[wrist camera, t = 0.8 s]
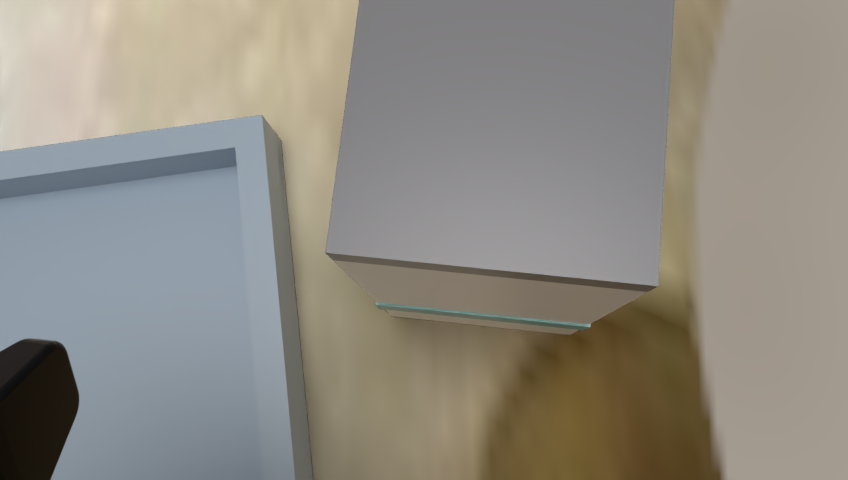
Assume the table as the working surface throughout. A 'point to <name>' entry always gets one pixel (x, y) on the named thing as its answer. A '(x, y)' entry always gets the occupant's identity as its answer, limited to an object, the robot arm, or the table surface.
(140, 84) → the table surface
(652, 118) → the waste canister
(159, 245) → the drip tray
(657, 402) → the table surface
